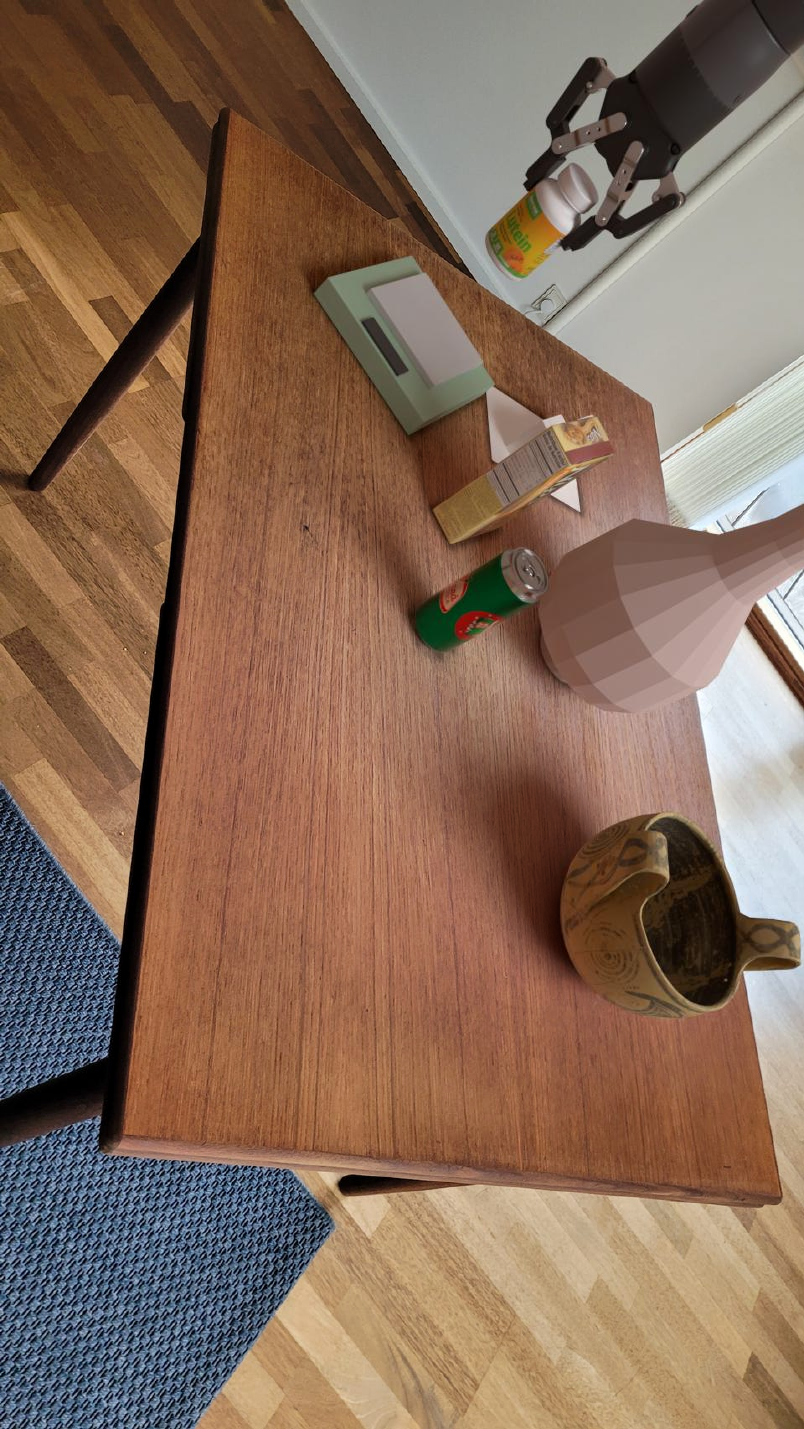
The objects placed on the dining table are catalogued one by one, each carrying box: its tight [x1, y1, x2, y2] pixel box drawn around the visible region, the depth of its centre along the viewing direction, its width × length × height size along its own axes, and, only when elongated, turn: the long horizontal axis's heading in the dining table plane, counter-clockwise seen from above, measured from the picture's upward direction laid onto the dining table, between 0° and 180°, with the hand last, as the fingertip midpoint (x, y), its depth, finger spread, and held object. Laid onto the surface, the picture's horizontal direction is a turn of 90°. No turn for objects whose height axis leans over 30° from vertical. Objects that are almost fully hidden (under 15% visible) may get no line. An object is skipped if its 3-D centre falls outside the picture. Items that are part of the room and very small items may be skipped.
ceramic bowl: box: [559, 810, 802, 1020], centre depth 77 cm, size 22×17×15 cm
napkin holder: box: [485, 386, 595, 513], centre depth 103 cm, size 15×11×6 cm
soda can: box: [414, 546, 549, 653], centre depth 78 cm, size 5×5×12 cm
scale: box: [313, 255, 496, 436], centre depth 93 cm, size 16×16×3 cm
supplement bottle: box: [484, 162, 600, 282], centre depth 82 cm, size 5×5×10 cm
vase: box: [538, 503, 804, 715], centre depth 84 cm, size 18×18×30 cm
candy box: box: [432, 415, 615, 545], centre depth 85 cm, size 9×4×15 cm, turn 129°
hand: (547, 216), depth 82 cm, fingers closed on supplement bottle, 5 cm apart
